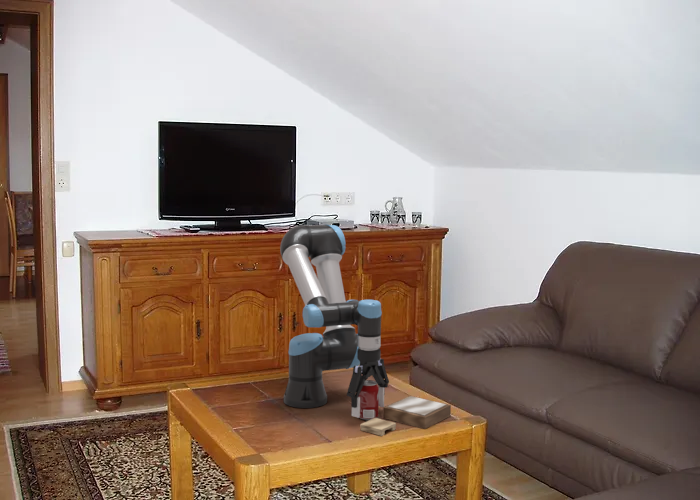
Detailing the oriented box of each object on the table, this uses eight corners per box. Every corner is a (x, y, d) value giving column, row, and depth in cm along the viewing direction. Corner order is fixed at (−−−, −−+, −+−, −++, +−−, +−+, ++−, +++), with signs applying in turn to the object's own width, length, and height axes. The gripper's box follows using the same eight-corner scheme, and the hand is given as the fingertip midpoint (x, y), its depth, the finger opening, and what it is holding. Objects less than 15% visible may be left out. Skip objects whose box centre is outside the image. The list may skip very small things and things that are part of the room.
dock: (383, 418, 252) (383, 406, 251) (409, 406, 264) (410, 394, 264) (424, 428, 242) (425, 416, 242) (450, 415, 255) (450, 404, 254)
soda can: (376, 422, 248) (377, 386, 246) (355, 420, 249) (356, 384, 248) (379, 415, 254) (380, 380, 253) (359, 413, 256) (360, 378, 254)
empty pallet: (360, 430, 240) (360, 424, 240) (375, 423, 246) (375, 417, 246) (381, 436, 235) (381, 429, 235) (395, 429, 242) (395, 423, 241)
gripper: (355, 357, 237) (354, 423, 239) (400, 342, 257) (398, 404, 259) (336, 353, 241) (335, 418, 244) (381, 339, 261) (380, 399, 264)
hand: (368, 411), depth 251 cm, fingers open, 13 cm apart
